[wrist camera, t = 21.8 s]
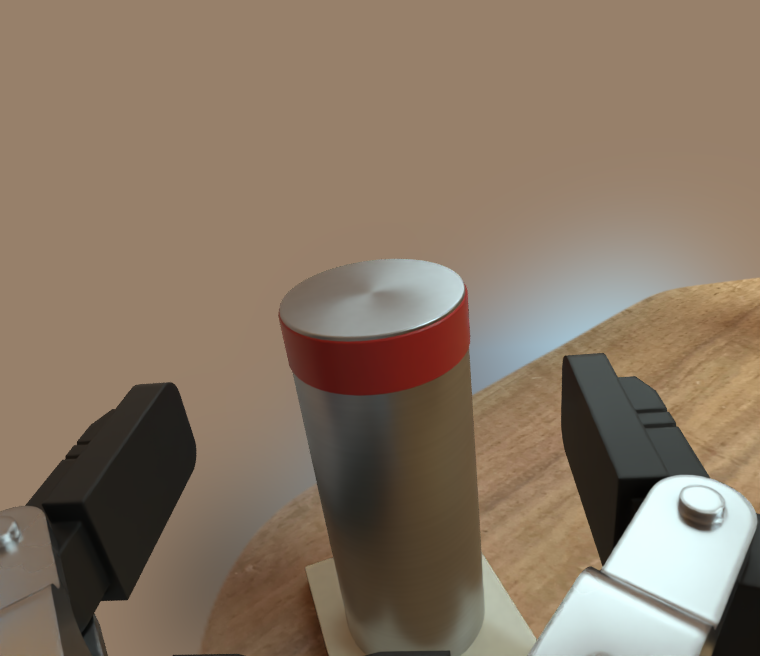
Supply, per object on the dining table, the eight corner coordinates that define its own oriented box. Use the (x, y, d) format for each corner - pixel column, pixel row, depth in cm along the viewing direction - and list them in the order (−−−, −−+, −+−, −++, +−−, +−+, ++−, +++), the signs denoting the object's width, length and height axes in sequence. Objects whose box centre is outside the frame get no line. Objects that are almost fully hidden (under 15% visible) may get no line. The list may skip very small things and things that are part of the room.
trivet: (352, 745, 19) (348, 731, 19) (307, 579, 25) (304, 566, 25) (544, 665, 21) (544, 650, 20) (459, 526, 27) (457, 513, 26)
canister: (368, 697, 20) (296, 358, 14) (331, 576, 24) (264, 281, 18) (512, 640, 21) (502, 305, 15) (451, 534, 25) (424, 245, 20)
